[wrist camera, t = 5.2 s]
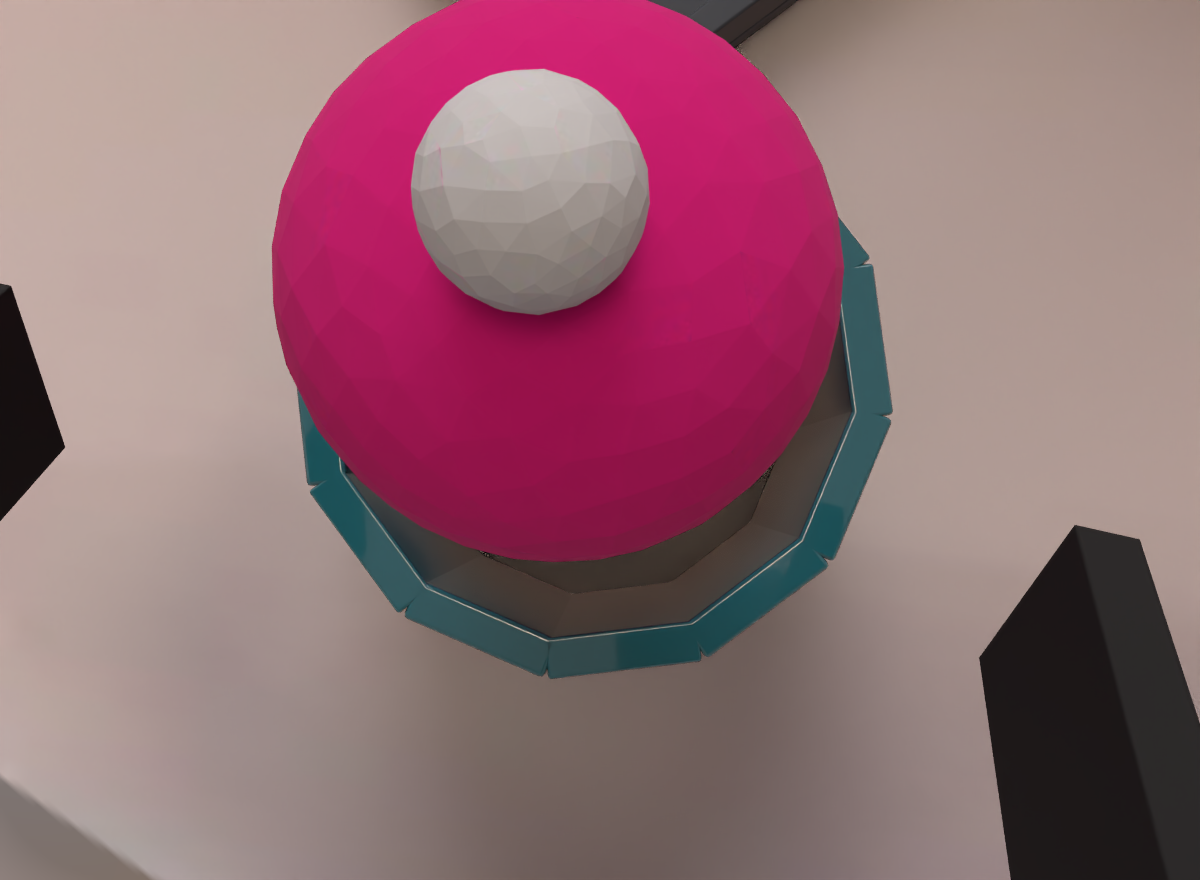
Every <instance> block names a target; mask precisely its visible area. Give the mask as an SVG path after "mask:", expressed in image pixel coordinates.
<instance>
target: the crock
mask: <svg viewBox="0 0 1200 880" xmlns="http://www.w3.org/2000/svg"><path fill="white" fill-rule="evenodd" d="M838 221H839V229H840V237H841V246H842V254H843V263H844V274H843V286H842V297H841V309H840V320H839V326H838V330H837V334H836V338H835V342H834V346H833V350H832V354H831V359H830V363H829V367H828V370H827V372H826V375H825V377H824V379H823V382H822V384H821V386H820V388H819V391H818V393H817V395H816V398H815V400H814V402H813V404H812V407H811V409H810V411H809V414H808V415H807V417H806V418H805V420H804V421H803V423H802V424H801V426H800V427H799V429H798V430H797V432H796V433H795V435H794V436H793V438H792V439H791V441H790V442H789V444H788V445H787V447H786V448H785V450H784V451H783V453H782V454H781V455H780V456H779V457H778V459H777V460H776V461H775V463H774V466H773V468H772V470H771V473H770V475H769V478H768V480H767V482H766V485H765V487H764V490H763V492H762V494H761V497H760V499H759V501H758V504H757V506H756V509H755V511H754V513H753V516H752V518H751V521H750V523H748V524H747V525H746V526H744V527H743V528H742V529H740V530H739V531H738V532H736V533H735V534H734V535H733V536H731V537H730V538H729V539H727V540H726V541H725V542H723V543H722V544H721V545H719V546H718V547H717V548H715V549H714V550H713V551H711V552H710V553H709V554H707V555H706V556H705V557H703V558H702V559H701V560H699V561H698V562H697V563H695V564H694V565H693V566H691V567H690V568H689V569H687V570H686V571H685V572H683V573H682V574H681V575H679V576H678V577H677V578H675V579H674V580H673V581H672V582H667V583H658V584H650V585H641V586H633V587H625V588H616V589H608V590H600V591H591V592H583V593H574V594H572V593H569V592H567V591H565V590H563V589H560V588H558V587H556V586H553V585H551V584H549V583H546V582H544V581H542V580H539V579H537V578H535V577H532V576H530V575H528V574H526V573H523V572H521V571H519V570H516V569H514V568H512V567H509V566H507V565H505V564H502V563H500V562H498V561H495V560H493V559H491V558H488V557H486V556H484V555H482V553H481V552H480V551H479V550H477V549H473V548H469V547H465V546H463V545H460V544H458V543H456V542H454V541H452V540H449V539H447V538H445V537H443V536H441V535H438V534H436V533H434V532H432V531H429V530H427V529H425V528H423V527H421V526H419V525H418V524H416V523H415V522H413V521H412V520H410V519H409V518H407V517H406V516H404V515H403V514H401V513H400V512H398V511H396V510H395V509H393V508H392V507H391V506H389V505H388V504H387V503H386V502H385V501H383V500H382V499H381V498H380V497H379V496H377V495H376V494H375V493H374V492H373V491H372V490H370V489H369V488H368V487H367V486H366V485H364V484H363V483H362V482H361V481H360V480H359V479H358V478H357V477H356V475H355V474H354V473H353V472H352V471H351V470H350V468H349V467H348V466H347V465H346V464H345V463H344V461H343V460H342V459H341V458H340V457H339V456H338V454H337V453H336V452H335V451H334V450H333V449H332V447H331V446H330V445H329V444H328V442H327V441H326V440H325V439H324V438H323V436H322V435H321V434H320V433H319V431H318V430H317V428H316V426H315V423H314V421H313V419H312V417H311V415H310V413H309V411H308V409H307V407H306V405H305V403H304V401H303V399H302V396H301V394H300V392H299V390H298V388H297V394H298V403H299V412H300V422H301V431H302V441H303V450H304V459H305V469H306V478H307V483H308V485H311V486H315V487H314V488H312V489H311V491H310V493H311V495H312V496H313V498H314V499H315V500H316V502H317V503H318V505H319V506H320V507H321V509H322V510H323V511H324V513H325V514H326V516H327V517H328V518H329V520H330V521H331V522H332V524H333V525H334V527H335V528H336V529H337V531H338V532H339V533H340V535H341V536H342V537H343V539H344V540H345V542H346V543H347V544H348V546H349V547H350V548H351V550H352V551H353V553H354V554H355V555H356V557H357V558H358V559H359V561H360V562H361V563H362V565H363V566H364V568H365V569H366V570H367V572H368V573H369V574H370V576H371V577H372V579H373V580H374V581H375V583H376V584H377V585H378V587H379V588H380V589H381V591H382V592H383V594H384V595H385V596H386V598H387V599H388V600H389V602H390V603H391V605H392V606H393V607H394V609H395V610H396V611H397V612H398V613H399V612H402V611H404V610H405V609H406V611H405V617H406V618H407V619H409V620H411V621H413V622H416V623H418V624H420V625H422V626H425V627H427V628H429V629H432V630H434V631H436V632H438V633H441V634H443V635H445V636H448V637H450V638H452V639H454V640H457V641H459V642H461V643H464V644H466V645H468V646H470V647H473V648H475V649H477V650H480V651H482V652H484V653H486V654H489V655H491V656H493V657H496V658H498V659H500V660H503V661H505V662H507V663H509V664H512V665H514V666H516V667H519V668H521V669H523V670H525V671H528V672H530V673H532V674H535V675H537V676H543V675H544V674H545V673H546V671H548V677H549V678H550V679H557V678H565V677H574V676H582V675H591V674H599V673H608V672H616V671H625V670H633V669H642V668H650V667H659V666H667V665H676V664H684V663H693V662H699V661H701V652H702V653H703V655H704V656H706V657H710V656H712V655H713V654H714V653H716V652H717V651H718V650H720V649H721V648H722V647H724V646H725V645H726V644H728V643H729V642H730V641H732V640H733V639H734V638H735V637H737V636H738V635H739V634H741V633H742V632H743V631H745V630H746V629H747V628H749V627H750V626H751V625H753V624H754V623H755V622H757V621H758V620H759V619H761V618H762V617H763V616H765V615H766V614H767V613H769V612H770V611H771V610H773V609H774V608H775V607H777V606H778V605H779V604H781V603H782V602H783V601H784V600H786V599H787V598H788V597H790V596H791V595H792V594H794V593H795V592H796V591H798V590H799V589H800V588H802V587H803V586H804V585H806V584H807V583H808V582H810V581H811V580H812V579H814V578H815V577H816V576H818V575H819V574H820V573H822V572H823V571H824V570H826V569H827V567H828V563H827V561H826V560H825V559H828V560H834V559H835V557H836V555H837V552H838V550H839V548H840V545H841V543H842V540H843V538H844V535H845V533H846V531H847V528H848V526H849V523H850V521H851V519H852V516H853V514H854V511H855V509H856V507H857V504H858V502H859V499H860V497H861V495H862V492H863V490H864V487H865V485H866V483H867V480H868V478H869V475H870V473H871V471H872V468H873V466H874V463H875V461H876V459H877V456H878V454H879V451H880V449H881V446H882V444H883V442H884V439H885V437H886V434H887V432H888V430H889V427H890V425H891V420H890V419H889V418H887V417H885V416H887V415H890V414H892V412H893V408H892V401H891V393H890V386H889V379H888V372H887V364H886V357H885V350H884V342H883V335H882V328H881V320H880V313H879V306H878V298H877V291H876V284H875V277H874V269H873V266H872V265H871V264H865V263H866V262H867V261H868V260H869V255H868V254H867V253H866V252H865V250H864V249H863V248H862V247H861V245H860V244H859V243H858V241H857V240H856V239H855V238H854V236H853V235H852V234H851V232H850V231H849V230H848V229H847V227H846V226H845V225H844V223H843V222H842V221H841V220H840V218H839V217H838ZM824 558H825V559H824Z"/></svg>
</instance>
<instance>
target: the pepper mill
mask: <svg viewBox="0 0 1200 880" xmlns="http://www.w3.org/2000/svg"><path fill="white" fill-rule="evenodd" d="M272 273H273V304H274V311H275V317H276V324H277V330H278V334H279V338H280V341H281V345H282V349H283V353H284V357H285V361H286V365H287V367H288V369H289V371H290V374H291V376H292V378H293V380H294V382H295V384H296V386H297V388H298V390H299V392H300V394H301V396H302V399H303V401H304V403H305V405H306V407H307V409H308V411H309V413H310V415H311V417H312V419H313V421H314V423H315V426H316V428H317V430H318V431H319V433H320V434H321V435H322V436H323V438H324V439H325V440H326V441H327V442H328V444H329V445H330V446H331V447H332V449H333V450H334V451H335V452H336V453H337V454H338V456H339V457H340V458H341V459H342V460H343V461H344V463H345V464H346V465H347V466H348V467H349V468H350V470H351V471H352V472H353V473H354V474H355V475H356V477H357V478H358V479H359V480H360V481H361V482H362V483H363V484H364V485H366V486H367V487H368V488H369V489H370V490H372V491H373V492H374V493H375V494H376V495H377V496H379V497H380V498H381V499H382V500H383V501H385V502H386V503H387V504H388V505H389V506H391V507H392V508H393V509H395V510H396V511H398V512H400V513H401V514H403V515H404V516H406V517H407V518H409V519H410V520H412V521H413V522H415V523H416V524H418V525H419V526H421V527H423V528H425V529H427V530H429V531H432V532H434V533H436V534H438V535H441V536H443V537H445V538H447V539H449V540H452V541H454V542H456V543H458V544H460V545H463V546H465V547H469V548H473V549H477V550H480V551H484V552H488V553H492V554H496V555H500V556H504V557H508V558H512V559H522V560H534V561H546V562H566V561H584V560H600V559H604V558H609V557H613V556H618V555H622V554H627V553H632V552H636V551H641V550H644V549H646V548H649V547H651V546H653V545H656V544H658V543H661V542H663V541H665V540H668V539H670V538H673V537H675V536H677V535H679V534H681V533H684V532H686V531H688V530H690V529H692V528H695V527H697V526H699V525H701V524H703V523H704V522H706V521H707V520H708V519H710V518H711V517H713V516H714V515H715V514H717V513H718V512H719V511H720V510H722V509H723V508H724V507H726V506H727V505H728V504H729V503H731V502H732V501H733V500H734V499H736V498H737V497H738V496H739V495H741V494H742V493H743V492H745V491H746V490H747V489H748V488H750V487H751V486H752V485H753V484H754V483H755V482H756V481H757V480H758V479H759V478H760V477H761V476H762V474H763V473H764V472H765V471H766V470H767V469H768V468H769V467H770V466H771V465H772V464H773V463H774V462H775V461H776V460H777V459H778V457H779V456H780V455H781V454H782V453H783V451H784V450H785V448H786V447H787V445H788V444H789V442H790V441H791V439H792V438H793V436H794V435H795V433H796V432H797V430H798V429H799V427H800V426H801V424H802V423H803V421H804V420H805V418H806V417H807V415H808V414H809V411H810V409H811V407H812V404H813V402H814V400H815V398H816V395H817V393H818V391H819V388H820V386H821V384H822V382H823V379H824V377H825V375H826V372H827V370H828V367H829V363H830V359H831V354H832V350H833V346H834V342H835V338H836V334H837V330H838V326H839V320H840V309H841V297H842V286H843V274H844V263H843V254H842V246H841V237H840V229H839V221H838V214H837V211H836V208H835V205H834V201H833V198H832V195H831V192H830V189H829V186H828V183H827V179H826V176H825V173H824V170H823V167H822V164H821V162H820V160H819V159H818V157H817V155H816V153H815V151H814V149H813V147H812V145H811V143H810V141H809V139H808V137H807V135H806V133H805V131H804V129H803V127H802V125H801V123H800V121H799V119H798V117H797V116H796V114H795V113H794V112H793V111H792V109H791V108H790V107H789V106H788V104H787V103H786V102H785V101H784V99H783V98H782V97H781V96H780V94H779V93H778V92H777V91H776V90H775V88H774V87H773V86H772V85H771V83H770V82H769V81H768V80H767V78H766V77H765V76H764V75H763V73H761V72H760V71H759V70H758V69H757V68H756V67H755V66H754V65H752V64H751V63H750V62H749V61H748V60H747V59H746V58H745V57H743V56H742V55H741V54H740V53H739V52H738V51H737V50H736V49H734V48H733V47H732V46H731V45H730V44H729V43H728V42H727V41H725V40H724V39H722V38H721V37H719V36H718V35H716V34H714V33H713V32H711V31H710V30H708V29H706V28H705V27H703V26H701V25H700V24H698V23H697V22H695V21H693V20H692V19H690V18H689V17H687V16H684V15H682V14H680V13H678V12H675V11H673V10H670V9H668V8H665V7H663V6H660V5H657V4H655V3H652V2H650V1H647V0H460V1H458V2H456V3H454V4H452V5H450V6H448V7H446V8H444V9H442V10H440V11H438V12H436V13H434V14H433V15H431V16H429V17H427V18H425V19H423V20H421V21H419V22H417V23H415V24H413V25H412V26H410V27H409V28H407V29H406V30H405V31H403V32H402V33H401V34H399V35H398V36H396V37H395V38H394V39H392V40H391V41H390V42H388V43H387V44H386V45H384V46H383V47H381V48H380V49H379V50H377V51H376V52H375V53H373V54H372V55H370V56H369V57H368V58H366V59H365V60H364V62H363V63H362V64H361V65H360V66H359V67H358V68H357V69H356V70H355V71H354V72H353V73H352V74H351V75H350V76H349V77H348V78H347V79H346V80H345V81H344V82H343V83H342V84H341V85H340V86H339V87H338V88H337V89H336V90H335V91H334V92H333V94H332V95H331V97H330V98H329V100H328V101H327V103H326V104H325V106H324V107H323V109H322V111H321V112H320V114H319V115H318V117H317V118H316V120H315V121H314V123H313V124H312V126H311V128H310V129H309V131H308V132H307V134H306V136H305V138H304V140H303V143H302V145H301V147H300V150H299V152H298V155H297V157H296V159H295V162H294V164H293V166H292V169H291V171H290V173H289V176H288V178H287V180H286V183H285V185H284V187H283V190H282V194H281V200H280V205H279V211H278V216H277V221H276V227H275V232H274V238H273V243H272Z"/></svg>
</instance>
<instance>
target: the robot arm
mask: <svg viewBox="0 0 1200 880" xmlns="http://www.w3.org/2000/svg"><path fill="white" fill-rule="evenodd" d="M64 448H65V445H64V442H63V439H62V436H61V433H60V430H59V427H58V424H57V421H56V418H55V415H54V413H53V410H52V407H51V404H50V401H49V398H48V395H47V392H46V389H45V386H44V383H43V380H42V377H41V374H40V371H39V368H38V365H37V362H36V359H35V356H34V353H33V350H32V347H31V344H30V341H29V338H28V335H27V332H26V329H25V326H24V323H23V320H22V317H21V314H20V311H19V308H18V305H17V302H16V299H15V296H14V293H13V290H12V288H11V286H9V285H4V284H0V521H1V520H2V518H3V517H4V516H5V515H6V514H7V513H8V512H9V511H10V509H11V508H12V507H13V506H14V505H15V504H16V503H17V501H18V500H19V499H20V498H21V497H22V496H23V495H24V494H25V492H26V491H27V490H28V489H29V488H30V487H31V486H32V484H33V483H34V482H35V481H36V480H37V479H38V478H39V476H40V475H41V474H42V473H43V472H44V471H45V470H46V469H47V467H48V466H49V465H50V464H51V463H52V462H53V461H54V459H55V458H56V457H57V456H58V455H59V454H60V453H61V452H62V450H63V449H64ZM979 659H980V666H981V673H982V680H983V687H984V694H985V701H986V708H987V715H988V722H989V729H990V736H991V743H992V750H993V757H994V764H995V771H996V778H997V786H998V793H999V800H1000V807H1001V814H1002V821H1003V828H1004V835H1005V842H1006V849H1007V856H1008V863H1009V870H1010V877H1011V880H1200V722H1199V719H1198V716H1197V713H1196V710H1195V707H1194V704H1193V701H1192V698H1191V695H1190V692H1189V689H1188V686H1187V683H1186V680H1185V677H1184V674H1183V671H1182V668H1181V664H1180V661H1179V658H1178V655H1177V652H1176V649H1175V646H1174V643H1173V640H1172V637H1171V634H1170V631H1169V628H1168V625H1167V622H1166V619H1165V616H1164V613H1163V609H1162V606H1161V603H1160V600H1159V597H1158V594H1157V591H1156V588H1155V585H1154V582H1153V579H1152V576H1151V573H1150V570H1149V567H1148V564H1147V561H1146V558H1145V555H1144V551H1143V548H1142V545H1141V542H1140V539H1135V538H1131V537H1126V536H1122V535H1117V534H1113V533H1108V532H1104V531H1100V530H1095V529H1091V528H1086V527H1082V526H1077V525H1075V526H1074V527H1073V528H1072V530H1071V531H1070V532H1069V534H1068V535H1067V537H1066V538H1065V539H1064V541H1063V542H1062V544H1061V545H1060V546H1059V548H1058V549H1057V551H1056V552H1055V553H1054V555H1053V556H1052V557H1051V559H1050V560H1049V562H1048V563H1047V564H1046V566H1045V567H1044V569H1043V570H1042V571H1041V573H1040V574H1039V576H1038V577H1037V578H1036V580H1035V581H1034V582H1033V584H1032V585H1031V587H1030V588H1029V589H1028V591H1027V592H1026V594H1025V595H1024V596H1023V598H1022V599H1021V601H1020V602H1019V603H1018V605H1017V606H1016V607H1015V609H1014V610H1013V612H1012V613H1011V614H1010V616H1009V617H1008V619H1007V620H1006V621H1005V623H1004V624H1003V626H1002V627H1001V628H1000V630H999V631H998V632H997V634H996V635H995V637H994V638H993V639H992V641H991V642H990V644H989V645H988V646H987V648H986V649H985V651H984V652H983V653H982V655H981V656H980V657H979Z"/></svg>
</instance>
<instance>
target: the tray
mask: <svg viewBox="0 0 1200 880" xmlns="http://www.w3.org/2000/svg"><path fill="white" fill-rule="evenodd" d="M647 1H650V2H652V3H655V4H657V5H660V6H663V7H665V8H668V9H670V10H673V11H675V12H678V13H680V14H682V15H684V16H687V17H689V18H690V19H692V20H693V21H695V22H697V23H698V24H700V25H701V26H703V27H705V28H706V29H708V30H710V31H711V32H713V33H714V34H716V35H718V36H719V37H721V38H722V39H724V40H725V41H727V42H728V43H729V44H730V45H731V46H732V47H733V48H735V47H736V46H737V45H739V44H740V43H741V42H743V41H744V40H745V39H747V38H748V37H749V36H751V35H752V34H753V33H755V32H756V31H757V30H759V29H760V28H761V27H763V26H764V25H765V24H767V23H768V22H769V21H771V20H772V19H773V18H775V17H776V16H777V15H779V14H780V13H781V12H783V11H784V10H785V9H787V8H788V7H789V6H791V5H792V4H793V3H795V2H796V1H797V0H647Z"/></svg>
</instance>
